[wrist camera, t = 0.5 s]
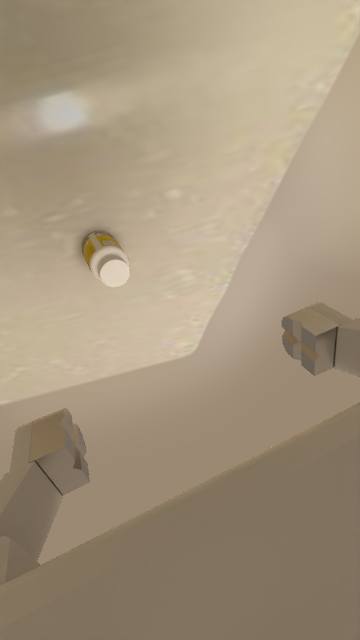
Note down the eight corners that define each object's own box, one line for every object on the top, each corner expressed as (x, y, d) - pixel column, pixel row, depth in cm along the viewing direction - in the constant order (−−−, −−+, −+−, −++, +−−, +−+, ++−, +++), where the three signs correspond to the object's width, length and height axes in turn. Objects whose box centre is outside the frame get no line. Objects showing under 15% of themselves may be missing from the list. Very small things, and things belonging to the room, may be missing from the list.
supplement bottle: (92, 270, 49) (106, 299, 41) (74, 240, 45) (85, 266, 38) (122, 254, 49) (141, 279, 42) (107, 224, 46) (124, 246, 38)
